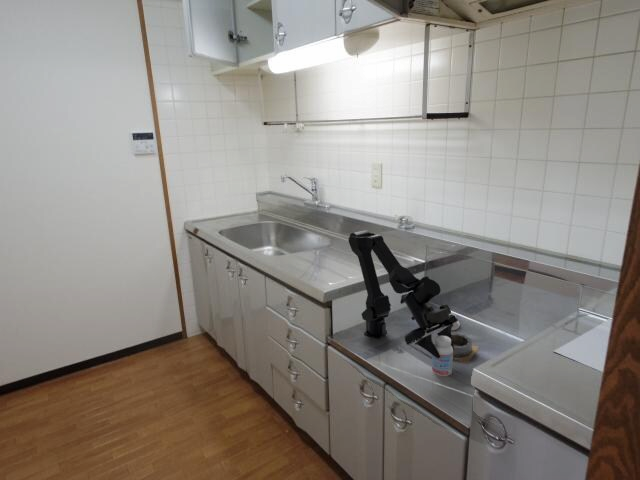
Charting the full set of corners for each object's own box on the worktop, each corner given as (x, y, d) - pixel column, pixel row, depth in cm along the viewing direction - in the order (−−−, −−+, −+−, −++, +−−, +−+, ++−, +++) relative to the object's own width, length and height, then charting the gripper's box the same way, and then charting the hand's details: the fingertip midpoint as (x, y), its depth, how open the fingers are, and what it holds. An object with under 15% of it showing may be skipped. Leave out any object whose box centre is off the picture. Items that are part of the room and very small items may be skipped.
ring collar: (435, 351, 135) (435, 342, 134) (447, 339, 143) (447, 330, 142) (465, 360, 129) (465, 351, 128) (475, 347, 137) (475, 338, 136)
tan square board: (431, 353, 135) (431, 352, 135) (445, 338, 144) (445, 337, 144) (467, 364, 128) (467, 363, 128) (479, 348, 137) (479, 347, 137)
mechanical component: (463, 324, 154) (438, 318, 161) (464, 313, 153) (439, 307, 160) (453, 334, 147) (428, 327, 153) (453, 323, 146) (428, 317, 152)
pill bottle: (429, 374, 124) (430, 341, 121) (434, 364, 129) (435, 332, 126) (449, 379, 121) (451, 345, 118) (454, 368, 126) (455, 336, 123)
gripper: (411, 306, 117) (440, 356, 111) (453, 290, 127) (482, 335, 121) (393, 321, 126) (419, 368, 120) (434, 305, 135) (460, 348, 129)
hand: (446, 354), depth 122 cm, fingers closed on pill bottle, 6 cm apart
